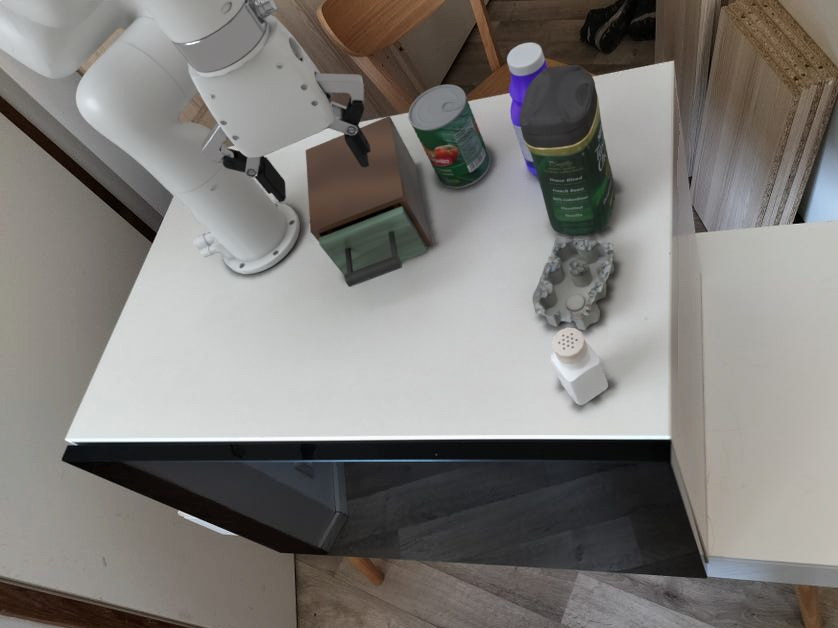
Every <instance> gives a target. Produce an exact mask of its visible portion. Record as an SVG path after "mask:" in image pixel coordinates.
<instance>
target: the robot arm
mask: <svg viewBox="0 0 838 628" xmlns="http://www.w3.org/2000/svg"><path fill="white" fill-rule="evenodd" d="M277 9H278V8H277V5H276V3H275V1H274V0H0V50H1V51H3V52H5V53H6V54H7V55H9V56H10V57H12V58H13V59H15V60H16V61H18V62H20V63H21V64H22V65H24V66H26V67H27V68H29V69H30V70H32V71H33V72H35V73H37V74H39V75H41V76H43V77H45V78H49V79H53V80H62V79H66V78H68V77H69V76H71V75H73V74H74V73H75V72H77V71H78V70H79V69H80V68H81V67H82V66H83V65H85V63H86V62H88V60H90V58H92V56H93V55H94V54H95V53H96V52H97V51H98V50H99V49H100V48H101V47H102V46H103V45H104V44H105V43H106V42H107V41H108V39H109V38H111V36H112V35H114V33H115V32H116V31H117V30H119V29H123V30H124V31H123V32H122V33H121V34H120V35H119V36H118V37H117V38H116V40H114V41H113V42H112V43H111V44H110V45H109V46H108V47H107V48H106V49H105V50H104V51H103V52H102V53H101V54H100V56H99V57H98V58H96V60H95V61H94V62H93V63H92V64H91V65H90V66H89V68H88V69H87V70H86V72H85V73H84V74H83V75H82V77H81V79H80V81H79V83H78V85H77V87H76V93H75V103H76V107H77V109H78V112H79V114H80V115H81V116H82V118H83V119H84V121H86V122H87V123H88V124H89V125H90V127H92V128H93V129H94V130H96V131H97V132H98V133H99V134H101V135H102V136H104V137H105V138H106V139H108V140H109V141H110V142H112V143H113V144H114V145H116V146H117V147H119V148H120V149H121V150H122V151H124V152H125V153H126V154H127V155H129V156H130V157H131V158H133V159H134V160H135V161H136V162H137V163H138V164H139V165H141V166H142V168H144V169H145V170H146V171H147V172H148V173H149V174H151V176H153V178H154V179H155V180H156V181H158V183H159V184H161V185H162V186H163V188H165V190H167V191H168V192H169V193H170V194H171V195H172V196H173V197H174V198H175V199H176V200H177V201H178V202H179V203H180V204H181V205H182V207H184V208H185V209H186V211H188V212H189V213H190V214H191V215H192V216H193V217H194V218H195V219H196V220H197V221H198V222H199V223H200V224H201V225H202V226H203V227H204V228H205V229H206V231H208V232H205V233H202V234H200V235H197V236H194V237H193V244H194V246H195V248H196V249H198V250H200V253H201V255H202V256H203V258H208V257H210V256H214V254H217V253H218V254H221V255H222V260H223V261H224V264H226V265H227V266H228V267H229V268H230V269H231V270H232V271H233V272H235V273H238V274H243V275H253V274H257V273H260V272H264V271H266V270H268V269H270V268H272V267H274V266H275V265H276V264H278V263H279V262H280V261H282V260H283V259H284V258H285V257H286V256H287V255H288V254H289V253H290V251H291V250H292V249H293V248H294V246H295V244H296V242H297V240H298V239H299V234H300V230H301V222H300V218H299V215H298V214H297V213H296V212H295V210H294V209H293V208H292V207H291V206H289V205H288V204H285V203H283V202H285V200H286V199H287V193H286V191H287V190H286V181H285V179H284V178H283V176H282V175H281V174H280V173H279V171H278V170H277V169H276V167H275V166H274V165H273V164H272V163H271V161H270V160H269V158H268V157H267V155H269V154H272V153H274V152H277V151H279V150H281V149H284V148H286V147H289V146H291V145H293V144H296V143H298V142H301V141H303V140H305V139H307V138H310V137H312V136H314V135H317V134H319V133H320V132H323V131H325V130H326V129H331V130H333V131H335V132H339V133H341V134H343V135H344V137H345V141H346V143H347V145H348V146H349V148H350V150H351V151H352V153H353V154H354V156H355V157H356V159H357V161H358V162H359V164H360V165H361V167H364V168H365V167H367V166H369V162H368V156H367V153H369V152H371V150H370V145H369V143H368V141H367V139H366V137H365V136H364V134H363V132H362V131H361V129H360V128H361V127H360V126H359V125H360V122H361V119H362V117H363V114H364V111H365V83H364V82H365V81H364V78H363V76H362V75H361V74H354V73H323V72H321V71H320V69H319V68H318V67H317V66H316V64H315V63H314V62H313V59H311V58H310V56H309V55H308V53H307V52H306V51H305V50H304V48H303V46H301V44H300V43H299V42H298V41H297V39H296V38H295V37H294V36H293V34H292V33H291V32H290V31H289V30H288V28H286V26H284V24H283V23H282V22H281V21H280V20H279V19H278V18H277V17H276V16H274V15H271V14H272V13H274V12H276V11H277ZM197 94H199V95H200V97H201V99H202V100H203V102H204V104H205V105H206V108H207V109H208V110H209V112H210V114H211V116H212V117H213V119H214V120H215V121H216V123H215V124H214V126H213V127H212V128H209V127H207V125H206V126H205V125H204V124H201V123H197V122H192V121H185V120H180V116H181V114H182V112H184V110H185V108H186V107H187V105H188V104H189V103H190V102H191V101H192V100H193V98H194V97H195V96H196V95H197ZM333 94H348V95H349V100H348V102H347V105H343V104H341V103H338V102H335V101H333V100H334V95H333ZM227 139H229V140H230V142H231V143H232V145H233V146H234V147H235V148H236V149H233V148H229V147H228V146H227V145H226V143H225V142H226V140H227ZM271 194H272V195H273V197H274V198H275V199H276V201H278V202H274V201H273V200H272V199H271V198H270V196H269V195H271Z"/></svg>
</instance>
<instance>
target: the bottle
mask: <svg viewBox="0 0 838 628" xmlns="http://www.w3.org/2000/svg"><path fill="white" fill-rule="evenodd" d="M545 59H546V58H545V55H544V52H543V49H542V47H541V46H540V44H538V43H536V42H525V43H521V44H518V45H517V46H515V47H513V48H512V49H511V50H510V51H509V53H508V54H507V57H506V62H507V66H508V70H509V72H510V73H509V74H510V78H511V79H510V84H509V87H508V94H509V97H510V98H511V104H510V109H509V110H510V120H511V122H512V126H513V128H514V131H515V135H516V137H517V138H516V139H517V141H518V144H519V146H520V150H521V154H522V156H523V159H524V161H525V166H526V167H527V169H528V171H529V172H530V173H531V174H532V175H534V176H536V177H538V176H537V173H536V169H535V166H534V162H533V159H532V156H531V153H530V151H529V149H528V147H527V146H526V144H525V141H524V138H523V135H522V131H521V126H520V121H519V115H520V111H521V107H522V103H523V100H524V97H525V94H526V92H527V89H528V87H529V85H530V83H531V82H532V80H533V79H534V78H535V77H536V76H537V75H538V74H539V73H541V72H542V71H543V69H544V68H548V67H549V66H548V65H547V61H546V60H545Z"/></svg>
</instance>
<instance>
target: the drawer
mask: <svg viewBox="0 0 838 628" xmlns="http://www.w3.org/2000/svg"><path fill="white" fill-rule="evenodd" d="M326 232H327V234H328V235H325V236H323V237H320V238H319V242H318V245H319V246H320V248H321V249H322V251H324V253H325V254H326V255H327V256H328V258H329V259H330V260H331V261H332V263H333V264H334V265H335V266H336V267H337V268H338V270H339V271H340V273H341V274H342V275H343V277H344V281H345V284H346V285H347V287H349V288H351V287H353V286H357V285H359V284H362V283H365V282H368V281H370V280H373V279H376V278H378V277H381V276H384V275H386V274H389V273H393V272H394V271H397V270H401V269H402V268H403V263H402V262H403V261H406V260H408V259H411V258H413V257H416V256H419V255H422V254H424V253H427V252H428V249H427V247H426V245H425V243H424V241H423V240H422V238H421V236H420V235H419V233H418V231H417V230H416V228H415V226H414V225H413V223H412V221H411V220H410V218H409V216H408V215H407V213H406V211H405V210H404V208H403V206H402V205H401V203H398V204H395V205H392V206H390V207H387V208H385V209H382V210H379V211H377V212H374V213H372V214H369V215H366V216H364V217H361V218H359V219H356V220H353V221H351V222H348V223H346V224H343V225H340V226H338V227H335V228H332V229H330V230H327V231H326Z"/></svg>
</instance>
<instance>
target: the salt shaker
mask: <svg viewBox="0 0 838 628" xmlns="http://www.w3.org/2000/svg"><path fill="white" fill-rule="evenodd" d="M552 337H553V338H552V342H551V346H552V350H553V353H552V354H551V356H550V362H551V364H552V366H553V368H554V370H555V373H556V375H557V377H558V380H559V382H560V384H561V385H562V387H563V388H564V390H565V391H566V392H567V393H568V395H569V396H570V397H571V399H573V401H574V402H575V404H577V405H578V406H583V405H585V404H587V403H589V402H590V401H591V400H593V399H594V398H596V397H597V396H599V395H600V394H601V393H603V392H605V391H606V390H607V389H608V387H609V383H608V379H607V377H606V374H605V370H604V367H603V365H602V361H601V359H600V357H599V356H598V354H597V352H596V351H595V350H594V349H593V347H591V345H590V344H589V343H588V342H587V341H586V339H585V337H584V333H583V332H582V331H581V330H580V329H578V328H577V327H576V328H575V327H565V328H563V329H559V330H558V331H557V332H556V334H554V335H553V336H552Z"/></svg>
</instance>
